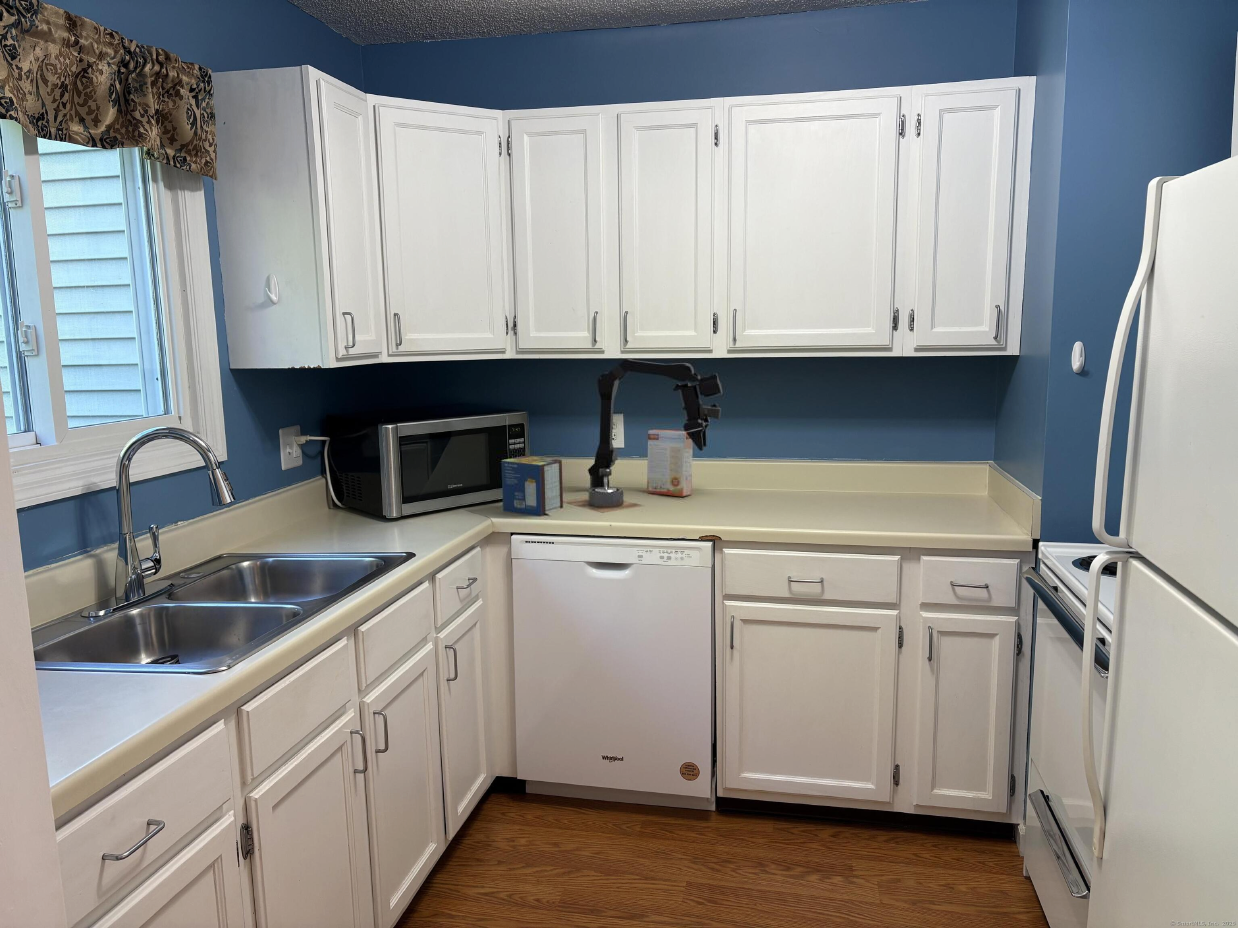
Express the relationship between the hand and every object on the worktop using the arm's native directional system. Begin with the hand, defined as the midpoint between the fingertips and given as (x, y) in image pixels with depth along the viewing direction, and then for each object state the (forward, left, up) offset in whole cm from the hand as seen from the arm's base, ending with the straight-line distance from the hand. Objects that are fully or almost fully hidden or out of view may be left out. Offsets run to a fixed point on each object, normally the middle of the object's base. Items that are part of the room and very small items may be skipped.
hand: (703, 448), depth 277 cm
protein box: (-16, -55, -16) cm, 60 cm away
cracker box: (-9, -7, -16) cm, 19 cm away
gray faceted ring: (-7, -35, -15) cm, 39 cm away
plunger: (-6, -35, -11) cm, 37 cm away
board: (-8, -35, -15) cm, 39 cm away
